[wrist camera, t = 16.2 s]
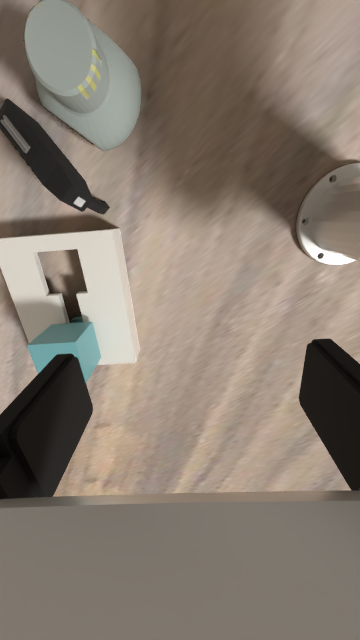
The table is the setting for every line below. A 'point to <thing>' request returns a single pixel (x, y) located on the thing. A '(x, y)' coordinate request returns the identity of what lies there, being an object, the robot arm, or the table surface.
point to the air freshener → (82, 74)
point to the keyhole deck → (95, 304)
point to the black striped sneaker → (46, 159)
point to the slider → (67, 345)
